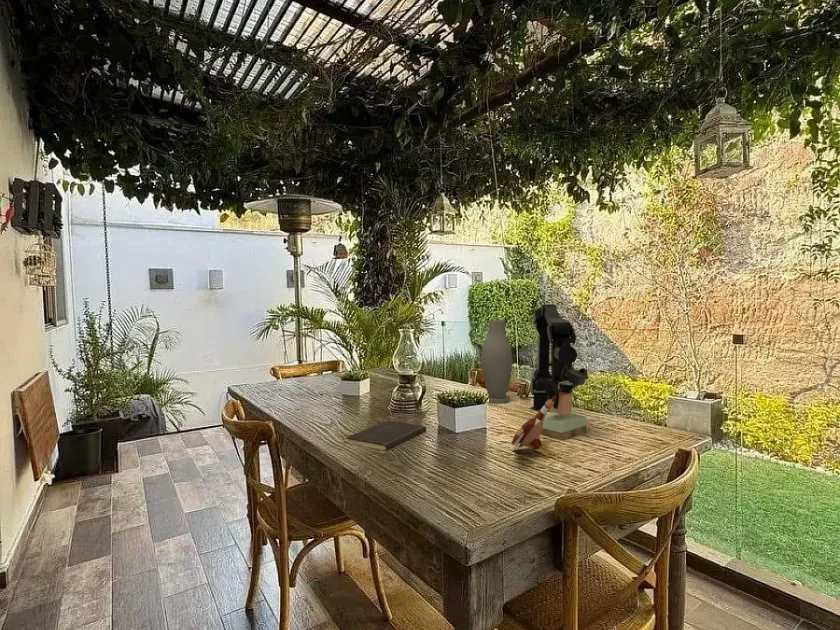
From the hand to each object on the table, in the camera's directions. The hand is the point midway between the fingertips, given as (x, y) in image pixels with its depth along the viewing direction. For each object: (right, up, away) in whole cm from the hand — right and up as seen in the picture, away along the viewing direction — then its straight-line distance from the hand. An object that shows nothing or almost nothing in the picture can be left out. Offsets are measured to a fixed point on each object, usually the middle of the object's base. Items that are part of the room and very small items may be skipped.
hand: (560, 407), depth 153 cm
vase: (-13, -7, +49) cm, 51 cm away
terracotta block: (0, -2, 0) cm, 2 cm away
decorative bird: (-13, -10, -19) cm, 26 cm away
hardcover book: (-57, -11, 0) cm, 58 cm away
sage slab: (0, -6, 0) cm, 6 cm away
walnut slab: (0, -9, 0) cm, 9 cm away
